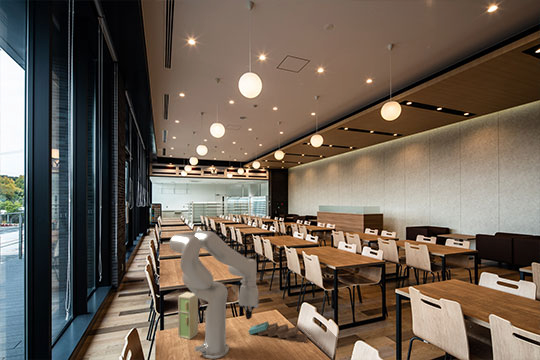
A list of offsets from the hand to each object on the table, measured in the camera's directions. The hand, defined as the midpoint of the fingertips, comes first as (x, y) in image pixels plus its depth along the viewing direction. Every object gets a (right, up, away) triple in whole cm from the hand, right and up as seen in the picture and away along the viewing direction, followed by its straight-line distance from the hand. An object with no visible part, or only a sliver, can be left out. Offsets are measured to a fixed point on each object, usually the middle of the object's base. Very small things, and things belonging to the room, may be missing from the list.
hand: (248, 318), depth 144 cm
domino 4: (+17, -6, -5) cm, 18 cm away
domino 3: (+11, -6, -3) cm, 13 cm away
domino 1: (+1, -7, 0) cm, 7 cm away
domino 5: (+20, -6, -6) cm, 22 cm away
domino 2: (+6, -7, -1) cm, 9 cm away
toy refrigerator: (-32, -8, -3) cm, 33 cm away
